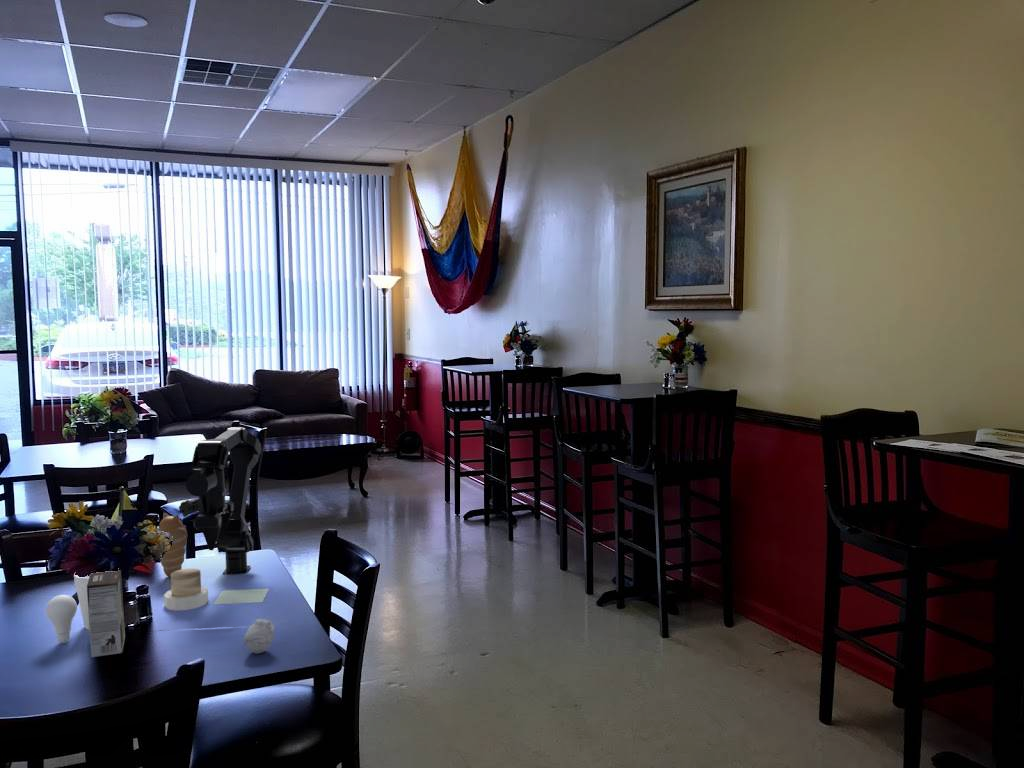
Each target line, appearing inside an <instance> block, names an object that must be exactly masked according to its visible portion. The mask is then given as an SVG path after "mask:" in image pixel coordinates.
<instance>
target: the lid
mask: <svg viewBox="0 0 1024 768" xmlns="http://www.w3.org/2000/svg"><path fill="white" fill-rule="evenodd" d="M201 577H202V575H201V570H200V569H198V568H181V570H178V571H175V572H173V573H171V577H170V590H171V593H172V596H175V597H187V596H192V595H196V594H198V593H200V592H201V586H202V578H201Z"/></svg>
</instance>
